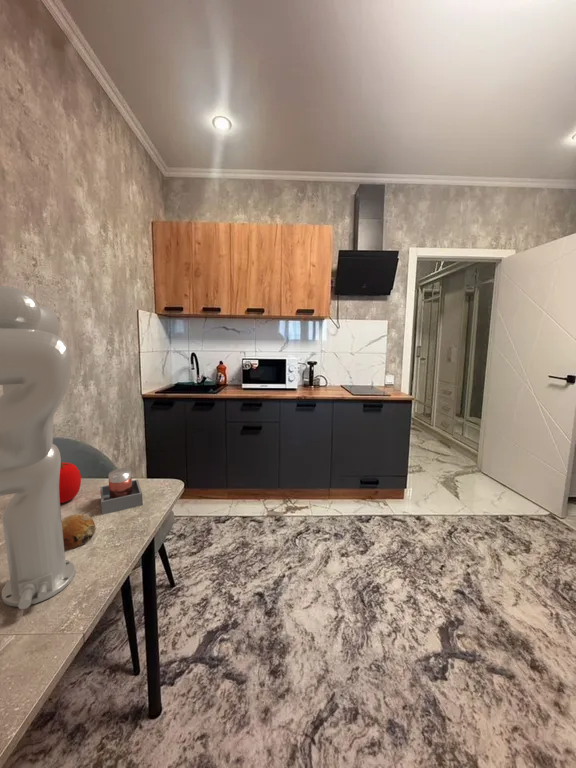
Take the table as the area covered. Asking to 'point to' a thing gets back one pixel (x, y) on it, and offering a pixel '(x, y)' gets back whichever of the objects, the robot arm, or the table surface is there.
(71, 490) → the tomato
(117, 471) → the red drink can
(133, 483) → the crate
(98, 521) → the table surface
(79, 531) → the bread roll
